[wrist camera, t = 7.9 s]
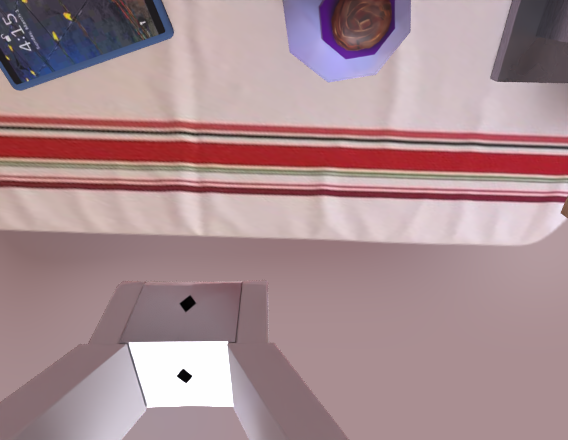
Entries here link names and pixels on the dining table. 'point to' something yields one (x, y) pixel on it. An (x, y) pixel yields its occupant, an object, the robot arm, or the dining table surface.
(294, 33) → the potion bottle
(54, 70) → the smartphone
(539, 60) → the beam stand
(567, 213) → the balance beam
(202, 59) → the dining table surface
